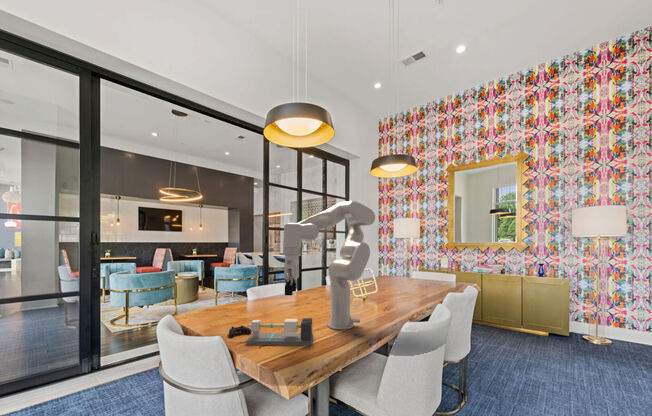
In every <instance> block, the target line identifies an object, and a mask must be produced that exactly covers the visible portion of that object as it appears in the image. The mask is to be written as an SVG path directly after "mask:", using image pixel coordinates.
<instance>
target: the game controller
mask: <svg viewBox="0 0 652 416" xmlns="http://www.w3.org/2000/svg"><path fill="white" fill-rule="evenodd" d="M236 333H244V334H246V335H252V334H253V331H251V328H250V327H248V326H244V325H240V326H237V327H235V326H231V327H230V328H229V329H228V336H229V338H231V339H233V338H234V337H235V334H236Z"/></svg>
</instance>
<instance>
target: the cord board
mask: <svg viewBox="0 0 652 416" xmlns="http://www.w3.org/2000/svg"><path fill="white" fill-rule="evenodd" d="M247 327H248V328H250V327H251V328H250V329H251V331H252V333H251V334H250V336H249V337H248V338H247V339H246V341H245V345H246V346H313V343H314V333H313V318H312V317H306V318H305V317H302V320H301V322H300V323H298V324H297V328H300V332H296V333H284V332H260V331H261V328H270V329H273V328H284V323H273V322H271V323H262V320H261V319H253V320H251V323H247Z"/></svg>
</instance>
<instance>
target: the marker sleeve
mask: <svg viewBox="0 0 652 416" xmlns="http://www.w3.org/2000/svg"><path fill="white" fill-rule="evenodd" d="M298 320H299V319H298V318H286V319H284V321H283V324H284V327H283V333H298V328H297V324H299V323H298Z"/></svg>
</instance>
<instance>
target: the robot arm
mask: <svg viewBox="0 0 652 416" xmlns="http://www.w3.org/2000/svg"><path fill="white" fill-rule="evenodd" d="M344 220H345V221H346V224H347V227H348V231H347V232H348V233H347V235H346V238H345V240H344V241H343V243H342V246H341V247H340V249H339V250H340V251H339V256H340V258H342V259H338V258H337V259H334V260H332V261H331V262H330V263H329V266H328V276H329V282H330V320H329V321H328V322H327V327H328V328H330V329H331V330H332V329H333V330H340V331H341V330H349V329H352V328H353V327H354V324H355V323H356V324H358V323H361V319H360V318H357V317H352V315H351V287H350V283H349V282H356V281H358V280H360V278H361V277H362V276H363V274H364V271H365V269H366V266H367V264H368V262H369V260H370V256H371V248H370V246H369V245H368V243H366V242H365V241H364V238H365V236H364V232H363V230H362V226H363V227H365V226H371V225H373V224H374V223H375V221H376V213H375V212H374V211H373V210H372V209H371V208H370V207H368V206H366V205H365V204H363V203H361V202H359V201H356V200H349V201H340V202H338V203H336V204H334V205H333V206H331V207H329V208H327V209H326V210H323V211H322V212H319V213H316V214H315V215H313V216H310V217H307V218H305V219H303V220H301V221H299V222H289V223H285V224H284V225H283V244H282V245H283V246H282V256H284V257H285V259H284V280H285V282H284V295H285V296H293V295H294V294H293V292H297V280H298V279H299V277H300V268H299V266H300V264H299V263H300V261H299V260H300V256H301V255H302V252H301V250H302V242H303V241H305V242H306V241H308V242H309V241H314V240H316V239H317V238H318V237H319V235H320V231H323V230H327V229H331V228H332V227H334V226H336V225H337V224H339V223H341V222H342V221H344ZM363 241H364V242H363Z"/></svg>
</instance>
